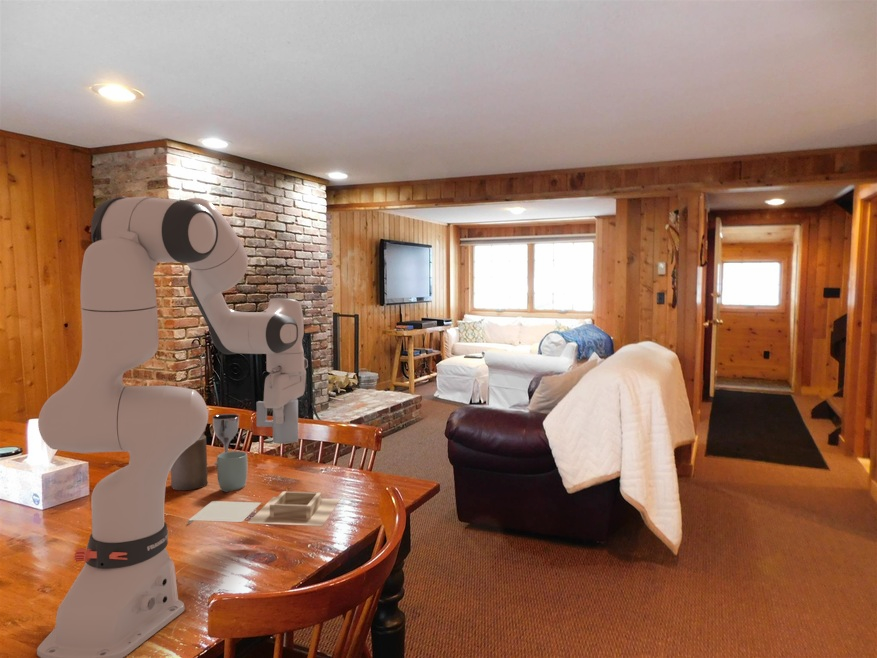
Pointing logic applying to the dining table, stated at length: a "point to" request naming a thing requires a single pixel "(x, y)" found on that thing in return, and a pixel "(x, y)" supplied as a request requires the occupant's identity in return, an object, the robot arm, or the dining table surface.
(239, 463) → the cup
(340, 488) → the dining table surface
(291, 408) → the light blue mug
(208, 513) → the mat
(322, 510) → the holder
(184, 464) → the pillar candle
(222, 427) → the wine glass
